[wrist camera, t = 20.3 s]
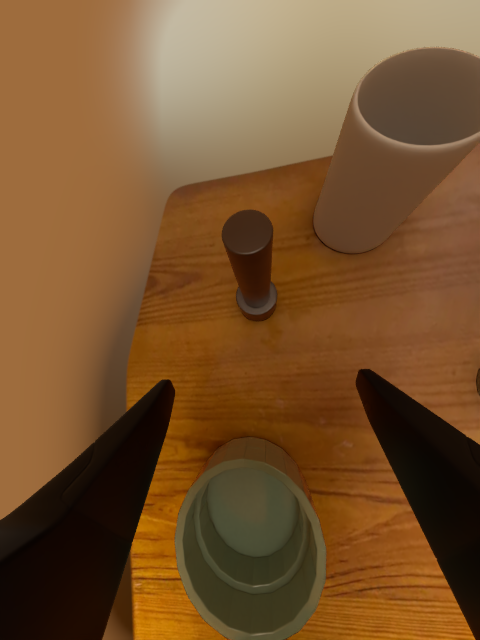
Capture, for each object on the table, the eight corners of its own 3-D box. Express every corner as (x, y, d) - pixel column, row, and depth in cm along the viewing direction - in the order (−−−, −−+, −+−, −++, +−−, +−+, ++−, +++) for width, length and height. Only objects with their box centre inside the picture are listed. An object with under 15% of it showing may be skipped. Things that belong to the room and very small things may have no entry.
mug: (356, 269, 21) (447, 175, 11) (296, 225, 23) (323, 108, 13) (429, 196, 22) (583, 38, 11) (365, 159, 24) (443, -3, 13)
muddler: (279, 317, 21) (297, 256, 9) (243, 324, 22) (214, 276, 9) (271, 283, 22) (276, 188, 10) (236, 291, 22) (202, 208, 10)
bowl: (324, 557, 16) (348, 639, 12) (207, 571, 17) (185, 652, 12) (292, 426, 19) (301, 448, 14) (191, 444, 20) (167, 470, 15)
